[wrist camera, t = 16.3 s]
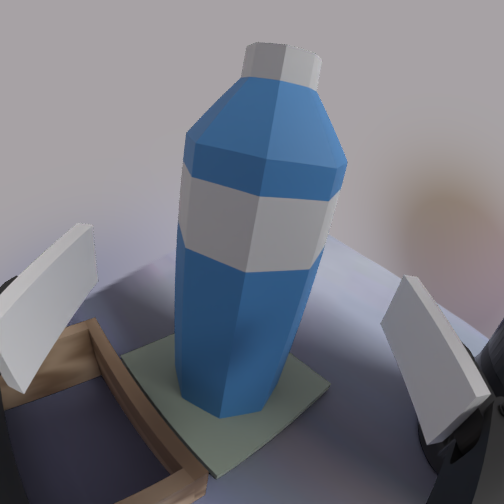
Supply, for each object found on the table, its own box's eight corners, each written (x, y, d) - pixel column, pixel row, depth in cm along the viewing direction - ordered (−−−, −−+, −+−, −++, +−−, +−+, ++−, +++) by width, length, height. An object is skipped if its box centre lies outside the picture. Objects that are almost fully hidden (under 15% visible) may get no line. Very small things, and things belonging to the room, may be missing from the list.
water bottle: (186, 331, 29) (215, 54, 17) (277, 347, 29) (347, 78, 18) (162, 406, 21) (175, 22, 9) (277, 426, 21) (399, 63, 9)
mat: (231, 314, 34) (232, 307, 34) (327, 389, 26) (331, 383, 26) (121, 362, 25) (120, 355, 24) (216, 479, 17) (217, 476, 16)
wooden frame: (106, 364, 24) (95, 317, 21) (205, 494, 16) (208, 471, 13) (-23, 409, 14) (-55, 366, 11) (39, 565, 6) (-6, 556, 3)
